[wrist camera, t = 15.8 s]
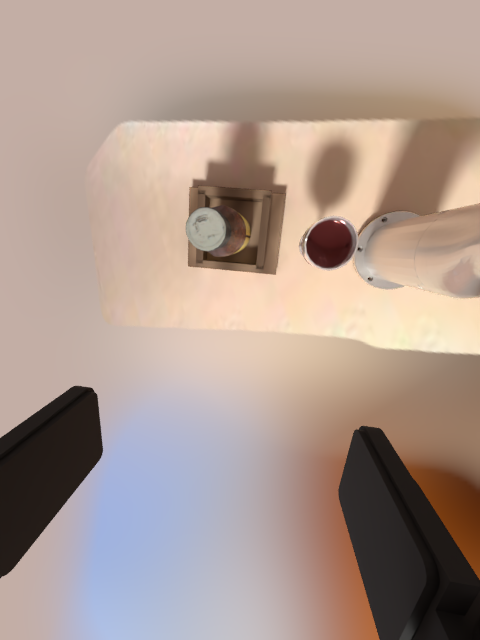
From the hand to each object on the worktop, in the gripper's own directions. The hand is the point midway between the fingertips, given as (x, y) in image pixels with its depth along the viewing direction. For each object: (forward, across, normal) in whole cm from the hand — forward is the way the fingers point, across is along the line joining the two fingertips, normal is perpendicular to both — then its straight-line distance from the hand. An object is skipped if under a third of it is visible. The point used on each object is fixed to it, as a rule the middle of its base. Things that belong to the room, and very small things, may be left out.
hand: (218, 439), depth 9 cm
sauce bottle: (+37, +5, -8) cm, 38 cm away
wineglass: (+38, -9, -8) cm, 40 cm away
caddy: (+38, +5, -9) cm, 40 cm away
